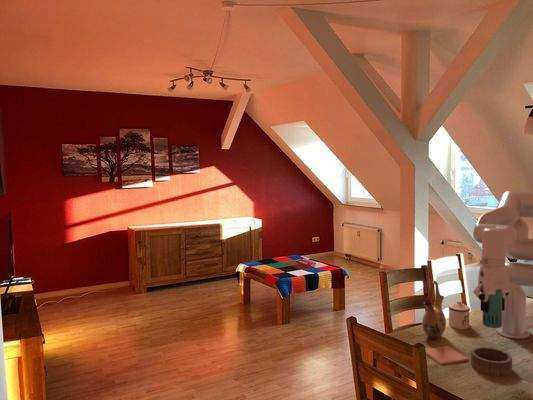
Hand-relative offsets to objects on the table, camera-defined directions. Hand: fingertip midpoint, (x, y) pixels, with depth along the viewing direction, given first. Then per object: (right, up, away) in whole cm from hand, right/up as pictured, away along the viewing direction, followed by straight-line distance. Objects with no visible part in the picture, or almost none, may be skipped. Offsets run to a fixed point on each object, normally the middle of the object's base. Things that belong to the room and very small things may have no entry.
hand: (492, 310), depth 157 cm
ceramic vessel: (-10, -20, +30) cm, 37 cm away
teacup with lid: (+8, -18, +43) cm, 48 cm away
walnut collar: (0, -22, +1) cm, 22 cm away
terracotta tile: (-13, -21, +12) cm, 27 cm away
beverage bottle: (0, -7, +1) cm, 7 cm away
